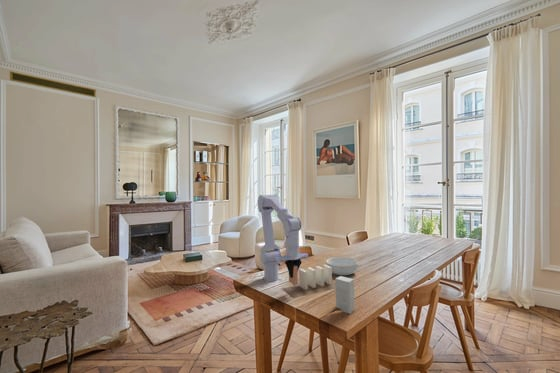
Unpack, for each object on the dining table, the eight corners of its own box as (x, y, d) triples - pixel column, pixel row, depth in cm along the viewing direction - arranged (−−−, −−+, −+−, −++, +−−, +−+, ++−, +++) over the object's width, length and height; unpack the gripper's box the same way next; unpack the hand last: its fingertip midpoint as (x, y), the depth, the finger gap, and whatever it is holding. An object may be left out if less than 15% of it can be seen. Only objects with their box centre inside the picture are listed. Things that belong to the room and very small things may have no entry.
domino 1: (304, 289, 115) (304, 272, 115) (299, 286, 119) (299, 269, 119) (307, 289, 115) (307, 271, 115) (302, 285, 120) (302, 268, 120)
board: (292, 300, 107) (292, 297, 107) (281, 290, 117) (281, 288, 117) (341, 289, 117) (341, 287, 117) (327, 281, 127) (327, 279, 127)
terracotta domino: (294, 285, 108) (294, 266, 108) (288, 281, 112) (288, 263, 112) (297, 284, 109) (297, 266, 108) (292, 280, 113) (291, 262, 113)
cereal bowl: (332, 267, 149) (332, 255, 149) (361, 271, 141) (361, 259, 141) (321, 276, 135) (321, 263, 135) (353, 281, 126) (352, 267, 126)
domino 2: (313, 288, 117) (312, 270, 117) (307, 284, 121) (307, 267, 121) (316, 287, 117) (315, 270, 117) (310, 283, 122) (310, 267, 122)
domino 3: (321, 286, 118) (321, 269, 119) (315, 282, 123) (315, 266, 123) (324, 285, 119) (323, 268, 119) (318, 282, 124) (318, 265, 124)
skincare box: (355, 310, 97) (354, 279, 97) (350, 314, 94) (349, 282, 94) (340, 305, 101) (340, 275, 101) (335, 309, 98) (334, 278, 98)
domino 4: (329, 284, 120) (328, 267, 120) (323, 281, 125) (323, 264, 125) (332, 283, 121) (331, 267, 121) (326, 280, 126) (325, 264, 126)
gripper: (281, 249, 104) (281, 282, 104) (311, 245, 110) (312, 277, 110) (274, 246, 110) (275, 277, 110) (303, 242, 116) (304, 272, 116)
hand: (293, 276), depth 110 cm, fingers closed on terracotta domino, 1 cm apart
